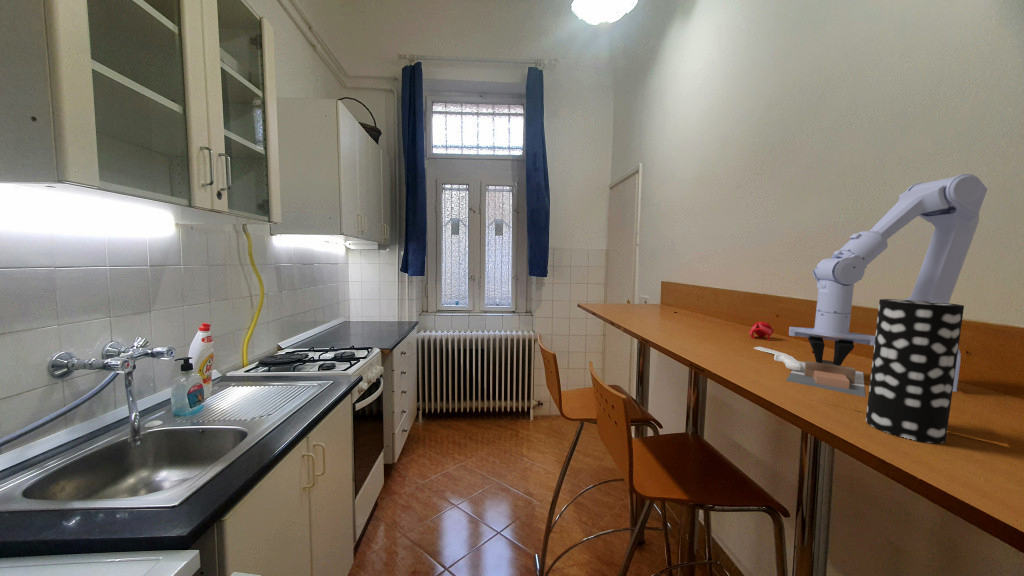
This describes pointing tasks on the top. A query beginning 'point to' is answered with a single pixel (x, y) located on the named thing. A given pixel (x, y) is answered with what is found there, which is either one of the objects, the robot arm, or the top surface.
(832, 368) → the pusher
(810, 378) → the board
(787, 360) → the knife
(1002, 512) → the top surface
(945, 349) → the spotted tube
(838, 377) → the tile
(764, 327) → the red openwork dome
